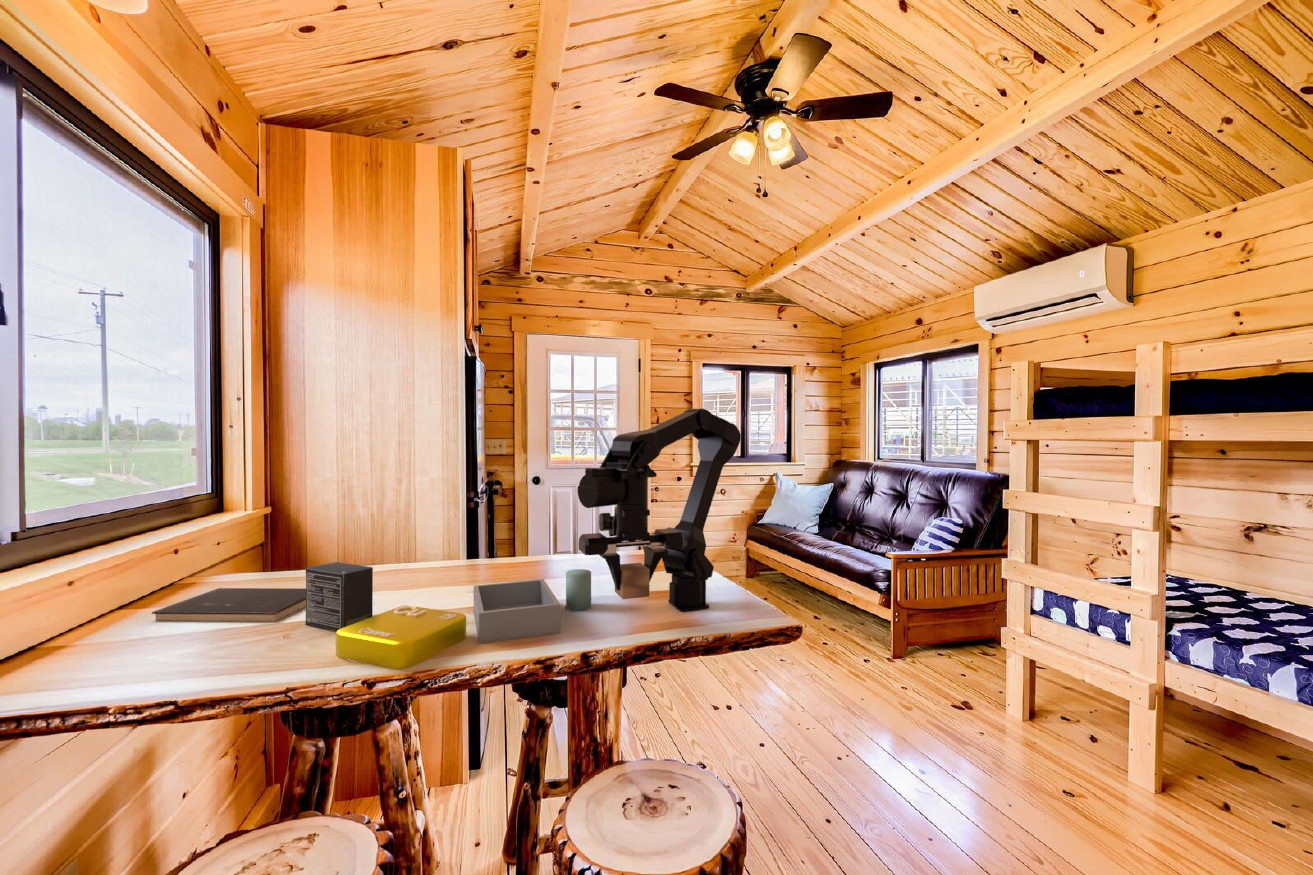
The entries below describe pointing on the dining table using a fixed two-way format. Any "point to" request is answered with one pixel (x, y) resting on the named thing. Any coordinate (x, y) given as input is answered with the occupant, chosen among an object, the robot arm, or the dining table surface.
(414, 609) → the element tile
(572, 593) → the teal cylinder
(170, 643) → the dining table surface
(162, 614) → the hardcover book
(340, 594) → the small box
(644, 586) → the walnut cube
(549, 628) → the tote
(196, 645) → the dining table surface
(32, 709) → the dining table surface
